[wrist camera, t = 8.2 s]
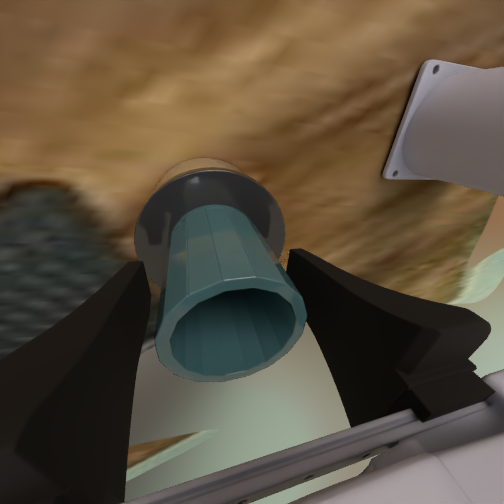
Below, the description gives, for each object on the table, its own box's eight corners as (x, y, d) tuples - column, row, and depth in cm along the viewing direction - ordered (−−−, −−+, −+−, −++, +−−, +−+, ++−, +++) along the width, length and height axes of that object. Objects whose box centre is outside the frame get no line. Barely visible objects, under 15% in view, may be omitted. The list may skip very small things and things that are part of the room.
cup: (261, 202, 12) (321, 269, 7) (255, 277, 15) (293, 366, 10) (161, 205, 11) (140, 289, 6) (173, 286, 14) (167, 395, 8)
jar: (267, 156, 16) (296, 170, 12) (257, 257, 20) (276, 293, 16) (135, 152, 14) (114, 167, 10) (157, 266, 18) (149, 310, 14)
